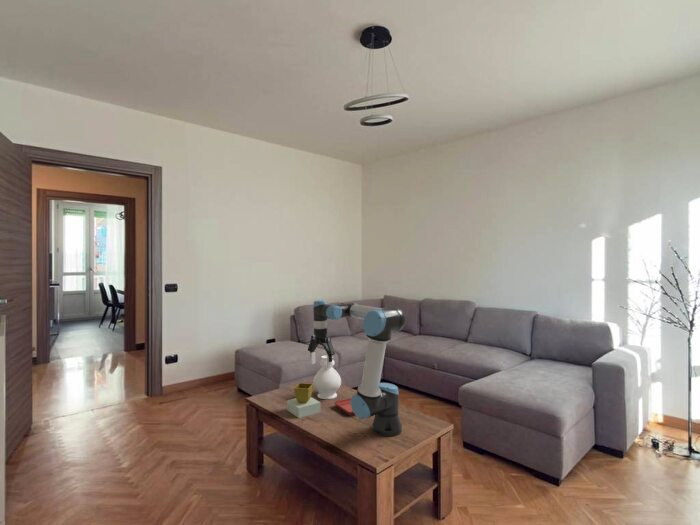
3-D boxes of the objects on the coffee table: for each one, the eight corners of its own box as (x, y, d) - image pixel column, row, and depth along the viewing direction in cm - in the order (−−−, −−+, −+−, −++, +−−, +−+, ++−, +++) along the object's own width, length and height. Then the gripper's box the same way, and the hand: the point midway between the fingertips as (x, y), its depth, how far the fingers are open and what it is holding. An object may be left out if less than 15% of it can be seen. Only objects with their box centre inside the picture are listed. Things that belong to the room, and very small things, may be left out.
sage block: (320, 412, 217) (320, 402, 217) (298, 418, 209) (298, 408, 209) (308, 405, 229) (308, 395, 229) (287, 410, 220) (287, 400, 220)
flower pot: (308, 404, 213) (308, 388, 213) (293, 403, 215) (293, 387, 215) (313, 399, 222) (313, 383, 222) (299, 398, 224) (298, 382, 224)
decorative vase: (333, 402, 232) (333, 361, 231) (307, 398, 239) (307, 358, 239) (345, 393, 248) (345, 354, 247) (321, 389, 255) (321, 352, 255)
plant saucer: (358, 401, 235) (358, 396, 235) (376, 411, 219) (376, 405, 219) (333, 407, 225) (333, 401, 225) (349, 418, 210) (349, 412, 210)
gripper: (340, 329, 210) (341, 367, 210) (311, 325, 227) (311, 361, 227) (331, 330, 205) (331, 370, 204) (301, 326, 222) (301, 363, 221)
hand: (321, 365), depth 215 cm, fingers open, 13 cm apart
